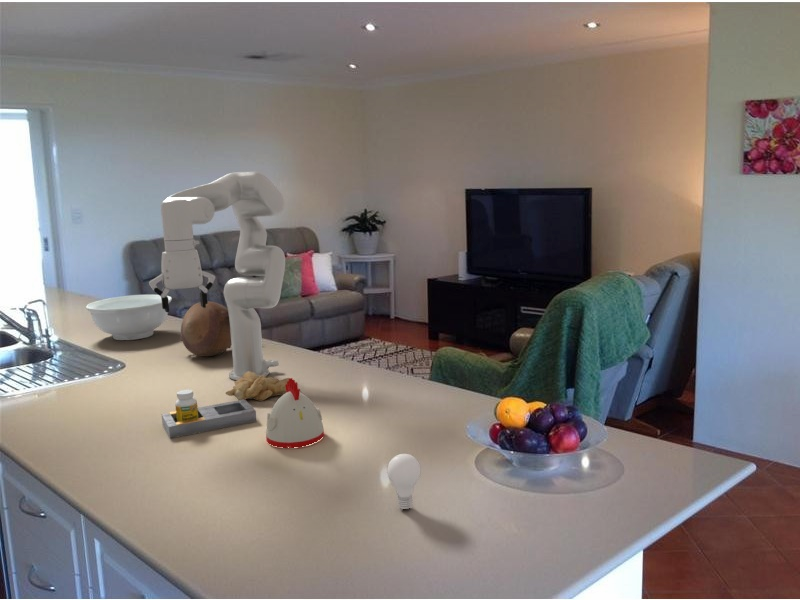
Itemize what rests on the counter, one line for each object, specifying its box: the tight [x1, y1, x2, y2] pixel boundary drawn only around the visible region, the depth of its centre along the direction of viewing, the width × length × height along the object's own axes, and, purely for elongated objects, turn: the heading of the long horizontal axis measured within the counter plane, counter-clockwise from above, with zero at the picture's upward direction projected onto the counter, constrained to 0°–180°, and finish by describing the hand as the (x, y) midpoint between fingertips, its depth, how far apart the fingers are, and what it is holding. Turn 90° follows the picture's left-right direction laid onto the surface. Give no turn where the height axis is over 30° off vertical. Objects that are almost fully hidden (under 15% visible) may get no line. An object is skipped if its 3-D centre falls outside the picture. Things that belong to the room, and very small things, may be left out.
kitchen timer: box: [265, 377, 325, 448], centre depth 176 cm, size 14×14×15 cm
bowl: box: [85, 294, 173, 341], centre depth 294 cm, size 32×32×15 cm
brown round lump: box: [179, 300, 232, 357], centre depth 263 cm, size 20×20×30 cm
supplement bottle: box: [175, 389, 199, 422], centre depth 187 cm, size 5×5×10 cm
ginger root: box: [225, 371, 290, 402], centre depth 210 cm, size 16×16×8 cm
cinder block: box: [160, 399, 257, 439], centre depth 190 cm, size 22×11×3 cm, turn 117°
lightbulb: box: [386, 453, 422, 510], centre depth 138 cm, size 6×6×11 cm
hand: (185, 309), depth 197 cm, fingers open, 9 cm apart
